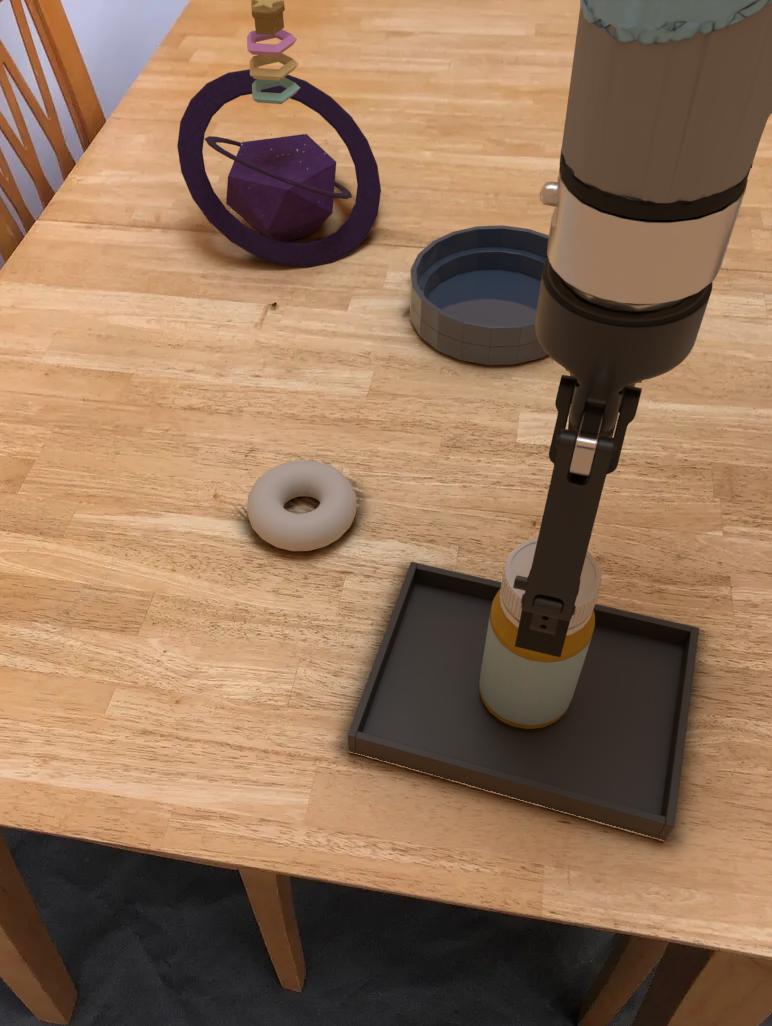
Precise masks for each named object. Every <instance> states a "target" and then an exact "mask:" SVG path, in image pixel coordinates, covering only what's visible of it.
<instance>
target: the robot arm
mask: <svg viewBox="0 0 772 1026" xmlns="http://www.w3.org/2000/svg"><path fill="white" fill-rule="evenodd" d="M579 5H580V6H579V13H578V21H577V22H578V23H577V28H576V37H575V44H574V52H573V57H572V58H573V59H572V65H571V66H572V67H571V74H570V82H569V89H568V97H567V104H566V112H565V120H564V127H563V135H562V143H561V149H560V157H559V168H558V174H557V180H556V181H545V182H544V184H543V185H542V186H541V189H540V192H539V201H540V202H541V204H542V206H543V205H544V206H547V207H553V208H554V207H555V208H554V210H553V212H552V215H551V220H550V225H549V232H548V235H549V238H548V246H547V255H548V257H547V259H546V261H545V263H544V266H543V270H542V276H541V283H540V290H539V296H538V303H537V310H536V317H535V331H536V335H537V338H538V341H539V343H540V344H541V346H542V348H543V349H544V351H545V352H546V353H547V354H548V355H547V356H548V357H549V358H551V360H553V361H554V362H555V363H557V364H558V365H560V366H561V367H563V368H564V369H565V371H566V372H569V375H566V374H561V376H560V380H559V384H558V388H557V393H556V398H555V403H554V405H555V408H556V410H557V414H556V415H557V416H556V420H555V424H554V429H553V433H552V437H551V440H550V441H551V442H550V447H549V450H548V458H549V461H550V462H551V463H552V464H553V468H552V472H551V477H550V482H549V486H548V491H547V496H546V500H545V504H544V510H543V513H542V518H541V523H540V527H539V532H538V536H537V538H538V540H537V545H536V549H535V554H534V558H533V563H532V567H531V569H530V573H529V575H528V578H527V577H523V576H518V575H517V576H516V578H515V581H514V586H513V588H515V589H520V590H524V591H525V594H523V595H522V599H521V603H522V606H521V608H522V612H521V617H520V622H519V627H518V632H517V637H516V643H515V647H519V648H523V649H527V650H531V651H535V652H540V653H544V654H548V655H552V656H556V657H561V653H562V649H563V646H564V642H565V638H566V635H567V631H568V627H569V624H570V620H571V618H572V615H574V613H575V609H576V606H575V601H576V598H577V596H578V592H579V588H580V587H579V586H580V581H581V580H580V577H581V573H582V569H583V565H584V561H585V557H586V553H587V551H588V549H589V545H590V541H591V537H592V534H593V530H594V526H595V521H596V518H597V514H598V509H599V506H600V501H601V498H602V493H603V490H604V486H605V482H606V478H607V475H610V474H612V473H614V472H615V471H616V470H617V468H618V466H619V461H620V458H621V453H622V450H623V445H624V441H625V438H626V433H627V429H628V426H629V424H630V423H632V421H634V419H635V418H636V415H637V411H638V406H639V403H640V400H641V396H642V390H643V387H637V386H636V384H641V383H642V382H643V381H645V380H646V381H647V380H651V379H653V378H657V377H660V376H662V375H664V374H667V373H668V372H670V371H672V370H674V369H675V368H676V367H678V366H679V365H681V364H682V363H683V362H684V361H685V360H686V359H687V357H688V356H689V355H690V354H691V352H692V351H693V349H694V346H695V344H696V341H697V339H698V335H699V332H700V328H701V325H702V323H703V319H704V317H705V313H706V310H707V307H708V304H709V300H710V297H711V295H712V292H713V291H712V290H713V282H714V281H715V279H716V278H717V275H718V274H719V272H720V270H721V268H722V265H723V262H724V260H725V259H724V258H725V256H726V254H727V250H728V247H729V244H730V241H731V238H732V234H733V232H734V228H735V225H736V222H737V219H738V216H739V213H740V210H741V206H742V203H743V200H744V197H745V195H746V191H747V188H748V187H747V185H748V181H749V180H748V178H749V175H750V172H751V169H752V168H753V163H754V160H755V158H756V154H757V151H758V148H759V145H760V142H761V139H762V136H763V133H764V131H765V128H766V126H767V122H768V120H769V117H770V116H771V115H772V0H579Z"/></svg>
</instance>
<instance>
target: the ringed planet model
mask: <svg viewBox="0 0 772 1026" xmlns="http://www.w3.org/2000/svg"><path fill="white" fill-rule="evenodd" d="M250 8H251V16H252V18H253V19H254V29H255V30H253V31H250V32H249V33H248V34H247V36H246V50H247V52H249V53H250V54H251V55H253V56H252V57H251V58H250V59H249V69H242V70H236V71H235V70H234V71H230V72H227V73H224V74H222V75H220V76H219V77H216V78H215V79H213V80H210V81H209V82H207V83H205V84H204V86H203V87H202V88H201V89H200V90H199V91H197V93H195V95H194V96H192V97H191V99H190V100H189V102H188V105H187V107H186V109H185V111H184V113H183V115H182V117H181V119H180V121H179V128H178V129H179V130H178V135H177V136H178V138H177V145H176V148H177V154H178V159H179V167H180V173H181V175H182V178H183V180H184V182H185V184H186V187H187V189H188V191H189V194H190V196H191V198H192V200H193V201H194V203H195V204H196V206H197V207H198V208H199V210H200V211H201V212H202V214H203V215H204V217H205V218H206V220H207V221H208V222H209V223H210V225H212V226H213V227H214V228H215V229H216V230H218V232H219V233H221V234H222V235H223V236H224V237H225V238H226V239H227V240H228V241H229V242H231V243H233V244H235V245H236V246H238V247H239V248H241V249H243V250H244V251H246V252H248V253H250V254H251V255H253V256H254V257H257V258H260V259H263V260H266V261H269V262H272V263H276V264H278V265H281V266H291V267H306V268H310V267H314V266H320V265H326V264H331V263H333V262H336V261H337V260H339V259H341V258H343V257H345V256H347V255H350V254H351V253H352V252H354V251H355V250H356V249H357V248H358V247H359V246H360V245H361V243H362V242H363V241H364V240H365V239H366V238H367V237H368V236H369V234H370V233H371V230H372V228H373V226H374V224H375V221H376V219H377V218H378V215H379V209H380V203H381V202H380V201H381V193H382V188H381V180H380V174H379V167H378V163H377V161H376V157H375V156H374V153H373V150H372V147H371V145H370V143H369V141H368V138H367V137H366V135H365V134H364V132H363V131H362V130H361V128H360V127H359V125H358V124H357V122H356V121H355V119H354V118H353V116H352V115H350V113H348V112H347V110H346V109H344V108H343V107H342V106H341V105H340V104H339V103H338V102H337V101H336V100H335V99H334V98H333V97H332V96H331V95H329V94H328V93H326V92H324V91H323V90H321V89H320V88H318V87H316V86H315V85H313V84H312V83H310V82H309V81H307V80H304V79H302V78H300V77H299V78H298V77H297V76H293V75H290V74H291V73H293V71H295V69H296V68H297V67H298V65H299V63H298V62H297V60H295V58H293V57H291V56H289V55H287V54H285V53H284V52H286V50H288V49H290V48H292V46H294V45H295V43H296V42H297V41H298V38H296V36H294V34H292V32H288V31H287V30H285V29H284V28H285V23H284V22H285V21H284V11H286V7H285V0H251V7H250ZM272 39H277V40H280V41H279V42H278V43H262V42H263V41H264V42H265V41H268V40H272ZM259 42H261V43H259ZM276 63H279V64H281V65H283V66H281V67H280V68H263V67H262V66H267V65H272V64H276ZM249 95H251V97H252V100H253V101H254V102H255V103H257V104H269V105H270V104H271V105H272V104H273V105H274V104H275V105H283V104H284V103H286V102H287V101H288V100H290V99H291V100H293V101H296V102H299V103H300V104H302V105H304V106H305V107H307V108H309V109H311V110H312V111H313V112H316V113H317V114H318V115H319V116H320V117H322V118H323V120H325V122H327V123H328V125H330V126H331V127H332V128H333V129H334V130H335V132H336V133H337V134H338V136H339V137H340V139H341V141H342V142H343V143H344V145H345V146H346V148H347V150H348V154H349V155H350V157H351V161H352V163H353V165H354V171H355V178H356V185H357V187H356V194H355V201H354V205H353V207H352V210H351V211H350V213H349V216H348V218H347V219H346V220H345V221H344V223H342V224H341V226H340V227H339V228H338V229H337V230H336V231H334V232H333V233H331V234H329V235H326V236H325V237H324V238H322V239H319V240H318V239H317V240H313V241H309V242H308V241H307V242H301V243H300V242H299V243H298V242H292V241H297V240H300V239H304V238H307V237H311V236H312V235H313V234H314V233H315V232H316V231H317V230H318V229H319V228H320V227H321V226H322V225H323V223H325V222H326V221H327V220H328V218H329V217H330V216H331V215H332V214H333V209H334V199H341V200H348V199H352V198H353V196H352V192H351V191H350V190H349V189H347V188H346V187H345V186H344V185H342V184H340V183H339V182H337V181H336V175H337V174H336V173H337V172H336V171H337V161H336V160H335V159H334V158H333V157H332V156H331V155H330V154H329V153H328V152H326V151H325V150H324V149H323V148H322V147H321V145H319V144H318V143H317V142H316V141H315V140H314V139H313V138H311V137H310V136H309V134H308V133H303V134H294V135H286V136H279V137H271V138H264V139H263V138H262V139H256V140H253V139H255V138H254V137H252V138H251V139H252V140H248V141H247V140H246V141H242V142H240V141H237V140H233V139H229V138H226V137H220V136H214V135H213V136H212V135H208V136H207V137H206V136H205V134H206V131H207V129H208V127H209V125H210V123H211V121H212V119H213V117H214V116H215V115H216V114H217V113H218V112H219V110H220V109H222V108H223V106H225V105H226V104H228V103H230V102H231V101H234V100H236V99H238V98H240V97H242V96H249ZM293 117H294V118H295V117H296V115H295V114H294V115H293ZM282 124H285V122H282ZM310 132H311V133H313V130H311V131H310ZM272 135H273V133H270V136H272ZM315 136H316V137H317V136H318V134H315ZM331 138H332V137H331V136H329V139H331ZM324 141H325V142H326V143H325V145H328V142H327V139H325V140H324ZM204 142H206V144H207V145H208V146H209V147H210V148H212V150H214V151H216V152H217V153H219V154H221V155H223V156H224V157H225V158H226V157H227V158H229V159H230V160H232V161H233V163H232V166H231V168H230V169H229V173H228V175H227V182H226V183H227V185H226V197H225V198H226V199H225V204H226V205H227V206H228V207H229V208H230V209H232V210H233V211H234V212H235V213H236V214H237V215H238V216H239V217H240V218H242V219H243V220H244V221H245V222H246V223H247V224H249V226H250V227H252V228H253V229H254V230H253V229H252V228H250V227H248V226H247V225H245V224H244V223H242V222H241V221H240V220H239V219H238V218H237V217H236V216H235V215H234V214H233V213H232V212H230V210H228V209H227V208H226V206H225V205H224V203H223V202H222V200H221V199H220V197H219V196H218V195H217V193H216V192H215V190H214V189H213V186H212V184H211V181H210V179H209V176H208V174H207V172H206V165H205V158H204V154H203V150H204ZM221 143H222V144H227V145H232V146H236V147H239V148H238V151H237V153H236V155H235V154H233V153H231V152H229V151H228V150H226V149H224V148H223V147H221V146H220V145H219V144H221ZM335 188H337V189H338V190H339V191H340V192H337V191H335ZM258 232H259V233H258Z"/></svg>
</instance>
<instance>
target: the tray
mask: <svg viewBox="0 0 772 1026" xmlns="http://www.w3.org/2000/svg"><path fill="white" fill-rule="evenodd" d="M501 583H502V581H498V580H493V579H488V578H485V577H480V576H476V575H471V574H467V573H463V572H458V571H453V570H451V569H450V570H449V569H445V568H442V567H441V568H440V567H437V566H432V565H429V564H424V563H418V562H415V561H410V563H409V566H408V569H407V571H406V575H405V577H404V580H403V583H402V586H401V587H400V591H399V593H398V597H397V598H396V602H395V604H394V606H393V607H394V608H393V609H392V611H391V615H390V618H389V621H388V624H387V626H386V629H385V632H384V633H383V634H384V635H383V637H382V640H381V642H380V645H379V648H378V650H377V653H376V656H375V659H374V661H373V664H372V668H371V669H370V672H369V675H368V678H367V681H366V683H365V687H364V689H363V692H362V694H361V698H360V700H359V703H358V705H357V708H356V711H355V713H354V716H353V719H352V722H351V724H350V727H349V729H348V733H347V749H348V752H349V751H350V752H353V753H357V754H360V755H361V754H362V755H365V756H369V757H372V758H377V759H379V760H382V761H387V762H390V763H394V764H398V765H401V766H405V767H408V768H411V769H415V770H419V771H422V772H426V773H429V774H433V775H436V776H440V777H443V778H446V779H450V780H454V781H458V782H461V783H465V784H468V785H471V786H475V787H478V788H481V789H485V790H488V791H493V792H496V793H500V794H503V795H507V796H510V797H514V798H517V799H520V800H524V801H527V802H531V803H535V804H539V805H542V806H545V807H548V808H551V809H552V808H553V809H555V810H559V811H563V812H567V813H570V814H574V815H576V816H581V817H584V818H588V819H591V820H595V821H598V822H602V823H605V824H609V825H612V826H616V827H620V828H623V829H627V830H630V831H634V832H637V833H641V834H644V835H648V836H651V837H655V838H658V839H662V840H665V841H666V840H667V839H668V837H669V836H670V834H671V832H672V831H673V830H674V827H675V824H676V816H677V808H678V799H679V792H680V785H681V784H680V783H681V776H682V768H683V759H684V753H685V752H684V751H685V745H686V744H685V743H686V735H687V728H688V720H689V712H690V705H691V697H692V688H693V681H694V671H695V665H696V658H697V648H698V641H699V633H700V627H697V626H693V625H692V626H691V625H690V624H685V623H680V622H676V621H673V620H672V621H671V620H667V619H664V618H658V617H654V616H650V615H646V614H642V613H637V612H634V611H633V612H632V611H628V610H624V609H619V608H616V607H610V606H606V605H602V604H597V603H595V606H594V608H593V610H594V614H595V627H594V631H593V635H592V638H591V641H590V645H589V648H588V651H587V654H586V657H585V660H584V663H583V666H582V669H581V673H580V676H579V679H578V682H577V685H576V688H575V691H574V694H573V697H572V700H571V702H570V705H569V707H568V709H567V711H566V712H565V714H564V715H563V716H562V717H561V718H560V719H559V720H558V721H556V722H555V723H552V724H550V725H548V726H546V727H542V728H535V729H524V728H518V727H514V726H511V725H509V724H506V723H504V722H502V721H500V720H499V719H498V718H496V717H495V716H494V715H493V714H492V713H491V712H490V711H489V710H488V709H487V707H486V706H485V704H484V703H483V701H482V698H481V694H480V690H479V682H480V673H481V667H482V661H483V655H484V648H485V642H486V636H487V630H488V623H489V617H490V611H491V606H492V602H493V600H494V598H495V596H496V594H497V593H498V591H499V590H500V589H501Z"/></svg>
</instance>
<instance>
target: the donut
mask: <svg viewBox="0 0 772 1026" xmlns="http://www.w3.org/2000/svg"><path fill="white" fill-rule="evenodd" d="M298 497H309V498H313V499H315V500H317V501H318V502H319V504H318V506H317V507H316V508H315V509H312V510H310V511H308V512H301V513H296V512H292V511H289V510H287V509H286V508H285V507H284V506H285V505H286V503H288V501H289V502H290V501H291V500H292V499H295V498H298ZM357 498H358V497H357V493H356V491H355V489H354V487H353V484H352V482H351V481H350V480H349V478H348V477H347V476H346V475H344V474H343V473H342V472H341V471H340V470H339V469H338V468H336V467H333V466H332V465H329V464H328V463H325V462H320V461H316V460H313V459H312V460H311V459H304V460H303V459H301V460H291V461H288V462H283V463H280V464H277V465H275V466H274V467H272V468H270V469H268V470H267V471H265V472H263V474H262V475H261V476H260V477H258V478H257V479H256V480H255V482H254V484H253V485H252V487H251V489H250V491H249V493H248V495H247V505H246V514H247V517H248V520H249V523H250V526H251V527H252V528H251V529H253V530H254V532H255V533H256V534H257V535H258V536H259V537H260V538H261V539H262V540H263V541H265V542H266V543H268V544H269V545H271V546H274V547H275V548H277V549H281V550H286V551H290V552H310V551H314V550H317V549H322V548H325V547H327V546H329V545H331V544H332V543H335V542H336V541H338V540H339V539H340V538H341V537H342V536H343V535H344V534H345V533H346V532H347V531H348V530H349V529H350V528H351V526H352V524H353V522H354V518H355V517H356V515H357V510H358V509H357V508H358V505H357V503H358V501H357Z"/></svg>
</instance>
